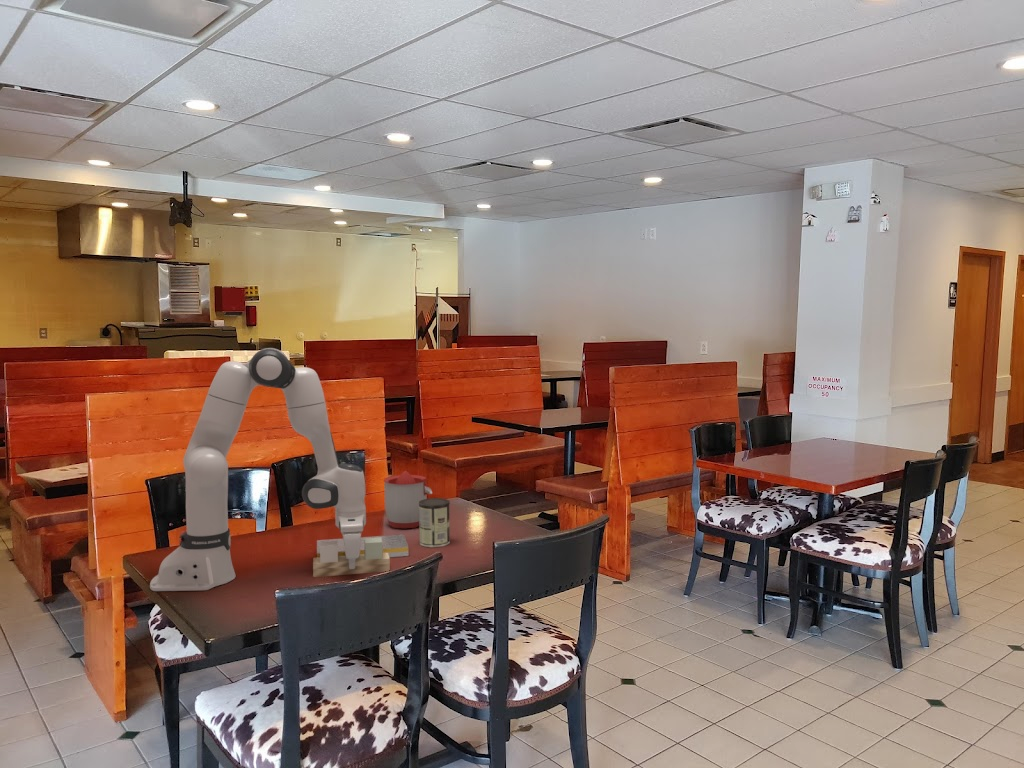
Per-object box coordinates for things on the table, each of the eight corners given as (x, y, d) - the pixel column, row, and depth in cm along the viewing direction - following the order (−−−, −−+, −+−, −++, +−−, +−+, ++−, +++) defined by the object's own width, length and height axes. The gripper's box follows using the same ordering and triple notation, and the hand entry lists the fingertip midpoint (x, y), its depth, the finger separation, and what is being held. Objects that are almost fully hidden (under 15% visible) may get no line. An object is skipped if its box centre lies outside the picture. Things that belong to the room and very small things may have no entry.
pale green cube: (365, 559, 226) (365, 543, 225) (364, 554, 230) (364, 538, 230) (382, 558, 227) (382, 542, 226) (381, 553, 232) (381, 537, 231)
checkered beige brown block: (313, 577, 222) (313, 564, 221) (313, 571, 228) (313, 557, 227) (389, 571, 227) (389, 558, 227) (388, 565, 233) (387, 552, 233)
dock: (317, 563, 234) (316, 553, 234) (317, 549, 248) (317, 540, 248) (408, 556, 241) (408, 546, 241) (403, 543, 255) (403, 534, 255)
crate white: (320, 563, 222) (320, 546, 222) (320, 557, 227) (320, 541, 227) (337, 561, 224) (337, 545, 223) (337, 556, 228) (337, 540, 228)
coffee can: (431, 536, 262) (430, 496, 261) (455, 541, 257) (455, 500, 256) (412, 544, 254) (412, 502, 252) (437, 549, 248) (437, 506, 247)
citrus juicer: (429, 531, 269) (428, 475, 267) (380, 530, 270) (379, 475, 268) (435, 519, 285) (434, 466, 283) (388, 519, 285) (387, 466, 283)
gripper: (338, 510, 235) (339, 554, 236) (340, 528, 215) (341, 576, 217) (359, 509, 237) (360, 553, 238) (363, 527, 217) (364, 574, 218)
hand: (351, 564), depth 227 cm, fingers closed on checkered beige brown block, 6 cm apart
